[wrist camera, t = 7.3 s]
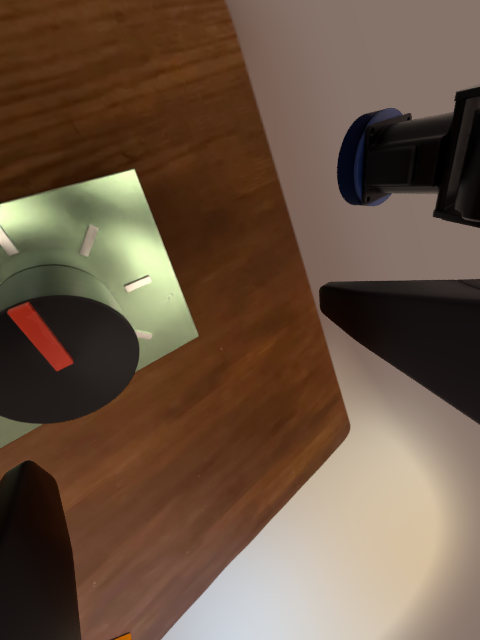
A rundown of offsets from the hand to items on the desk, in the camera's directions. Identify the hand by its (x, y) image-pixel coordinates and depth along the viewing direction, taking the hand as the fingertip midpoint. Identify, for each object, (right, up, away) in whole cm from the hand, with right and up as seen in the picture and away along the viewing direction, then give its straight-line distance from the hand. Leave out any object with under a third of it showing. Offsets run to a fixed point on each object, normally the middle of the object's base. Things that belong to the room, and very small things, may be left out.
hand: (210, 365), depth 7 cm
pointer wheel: (-8, +1, +5) cm, 9 cm away
